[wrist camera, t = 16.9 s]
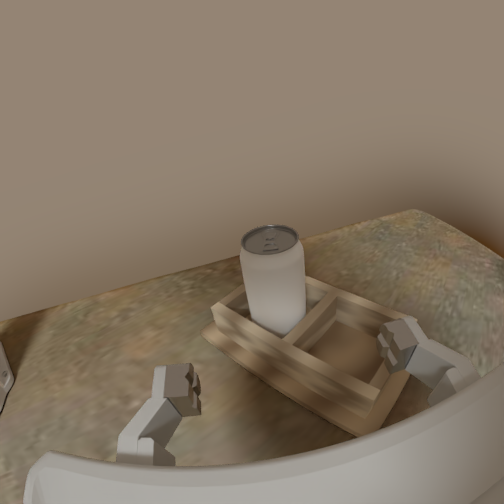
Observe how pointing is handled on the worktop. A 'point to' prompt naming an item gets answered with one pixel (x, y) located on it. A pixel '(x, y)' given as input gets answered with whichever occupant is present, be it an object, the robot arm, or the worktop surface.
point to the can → (274, 277)
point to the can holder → (317, 355)
